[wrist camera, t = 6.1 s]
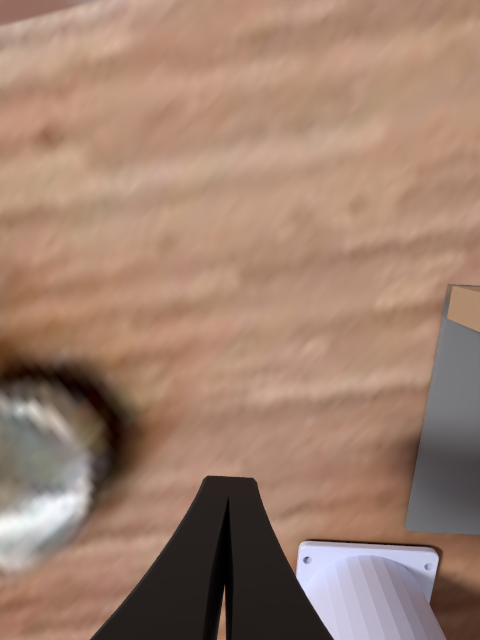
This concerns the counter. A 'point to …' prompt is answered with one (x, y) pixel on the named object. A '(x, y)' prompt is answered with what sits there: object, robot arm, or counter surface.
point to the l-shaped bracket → (451, 426)
